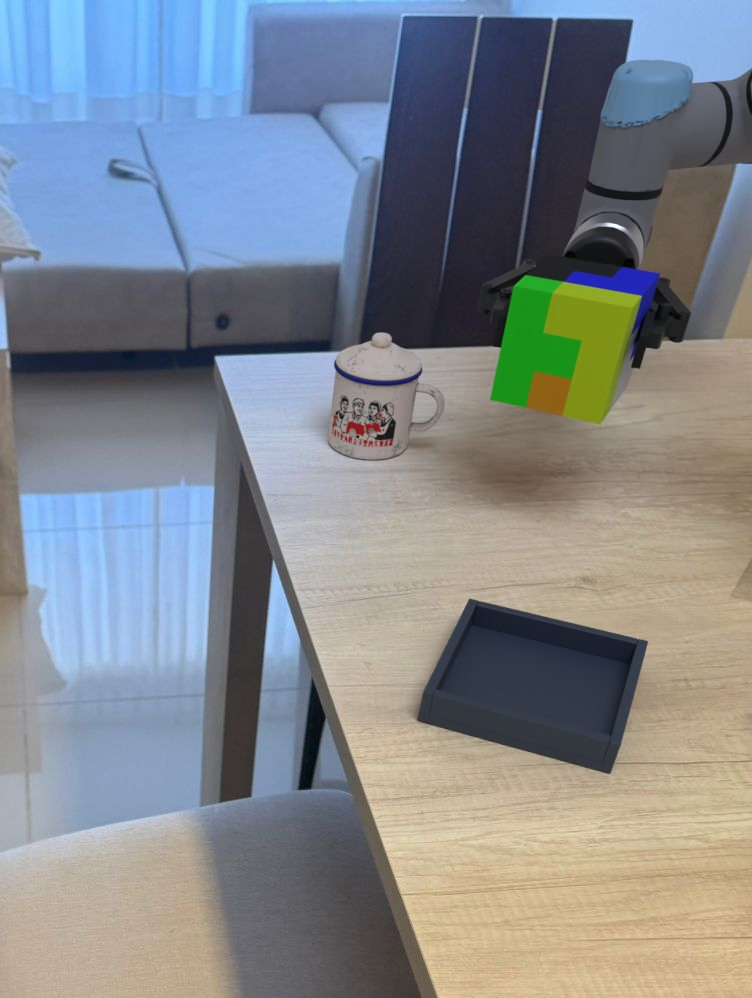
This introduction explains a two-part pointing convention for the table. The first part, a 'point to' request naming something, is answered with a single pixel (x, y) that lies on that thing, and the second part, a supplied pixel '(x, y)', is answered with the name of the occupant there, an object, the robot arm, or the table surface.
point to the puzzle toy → (572, 337)
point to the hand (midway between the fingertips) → (569, 342)
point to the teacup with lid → (377, 399)
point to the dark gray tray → (535, 684)
